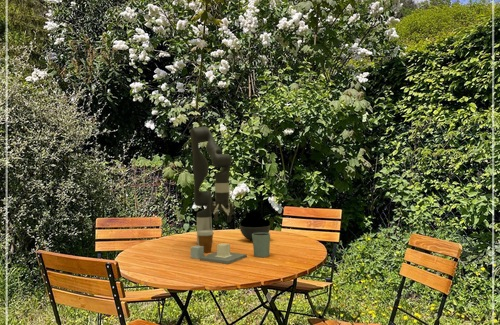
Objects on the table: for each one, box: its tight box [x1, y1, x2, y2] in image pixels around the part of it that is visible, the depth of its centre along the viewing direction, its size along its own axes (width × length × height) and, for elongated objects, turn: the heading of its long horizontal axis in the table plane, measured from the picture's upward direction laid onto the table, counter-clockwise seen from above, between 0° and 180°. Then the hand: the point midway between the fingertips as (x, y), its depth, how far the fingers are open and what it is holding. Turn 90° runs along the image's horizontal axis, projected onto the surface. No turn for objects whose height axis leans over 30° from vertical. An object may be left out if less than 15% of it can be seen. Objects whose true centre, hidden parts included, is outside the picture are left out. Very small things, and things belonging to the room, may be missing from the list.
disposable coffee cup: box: [196, 230, 214, 254], centre depth 250 cm, size 10×10×12 cm
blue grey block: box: [190, 245, 205, 260], centre depth 236 cm, size 5×5×6 cm
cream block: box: [216, 242, 231, 257], centre depth 232 cm, size 5×5×6 cm
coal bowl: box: [239, 210, 271, 242], centre depth 282 cm, size 20×20×19 cm
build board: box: [199, 251, 248, 265], centre depth 233 cm, size 18×18×2 cm
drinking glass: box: [252, 232, 271, 258], centre depth 239 cm, size 10×10×12 cm
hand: (222, 221), depth 233 cm, fingers open, 8 cm apart
